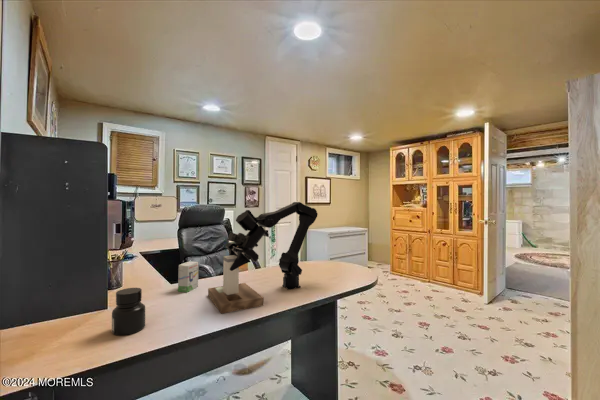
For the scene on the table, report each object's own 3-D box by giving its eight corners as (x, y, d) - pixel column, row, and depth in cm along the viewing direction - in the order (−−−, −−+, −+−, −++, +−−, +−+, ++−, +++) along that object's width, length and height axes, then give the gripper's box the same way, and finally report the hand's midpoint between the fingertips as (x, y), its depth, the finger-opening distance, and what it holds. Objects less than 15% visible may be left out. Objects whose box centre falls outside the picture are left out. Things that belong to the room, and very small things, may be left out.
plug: (233, 289, 114) (234, 254, 114) (238, 292, 111) (239, 257, 110) (222, 291, 112) (223, 256, 111) (227, 295, 108) (227, 258, 107)
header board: (244, 289, 127) (244, 282, 127) (263, 305, 108) (263, 297, 108) (208, 295, 119) (208, 287, 119) (221, 313, 100) (221, 304, 100)
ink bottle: (126, 322, 93) (126, 285, 93) (152, 323, 92) (152, 286, 92) (103, 336, 83) (103, 295, 83) (131, 337, 82) (131, 296, 82)
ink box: (188, 286, 132) (188, 260, 132) (198, 286, 131) (198, 261, 131) (177, 291, 124) (177, 265, 124) (187, 292, 123) (188, 265, 123)
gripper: (229, 223, 121) (204, 252, 114) (251, 227, 106) (223, 260, 99) (246, 240, 125) (223, 269, 119) (269, 245, 111) (244, 278, 104)
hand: (227, 269), depth 110 cm, fingers closed on plug, 5 cm apart
